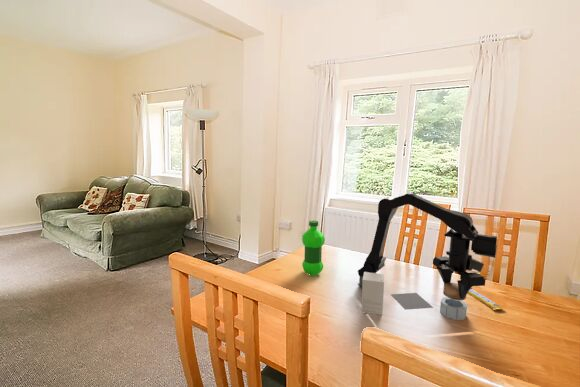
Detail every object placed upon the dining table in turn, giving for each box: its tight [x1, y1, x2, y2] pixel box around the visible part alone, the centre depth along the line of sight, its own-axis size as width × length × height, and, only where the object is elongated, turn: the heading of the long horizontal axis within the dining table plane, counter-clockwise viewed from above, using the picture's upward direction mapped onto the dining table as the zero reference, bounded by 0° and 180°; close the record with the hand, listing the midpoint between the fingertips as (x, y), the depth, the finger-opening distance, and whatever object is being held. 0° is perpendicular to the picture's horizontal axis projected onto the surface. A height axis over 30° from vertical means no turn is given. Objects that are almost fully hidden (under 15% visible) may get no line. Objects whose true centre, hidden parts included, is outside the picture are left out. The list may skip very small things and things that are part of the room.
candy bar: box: [467, 287, 506, 311], centre depth 112 cm, size 17×4×2 cm, turn 7°
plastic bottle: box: [301, 220, 326, 276], centre depth 133 cm, size 10×10×25 cm
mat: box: [390, 292, 434, 310], centre depth 110 cm, size 11×11×1 cm
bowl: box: [439, 296, 468, 321], centre depth 101 cm, size 8×8×4 cm
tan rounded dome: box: [442, 282, 467, 301], centre depth 100 cm, size 7×7×3 cm
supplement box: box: [361, 272, 385, 316], centre depth 104 cm, size 7×7×13 cm
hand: (454, 293), depth 100 cm, fingers closed on tan rounded dome, 7 cm apart
